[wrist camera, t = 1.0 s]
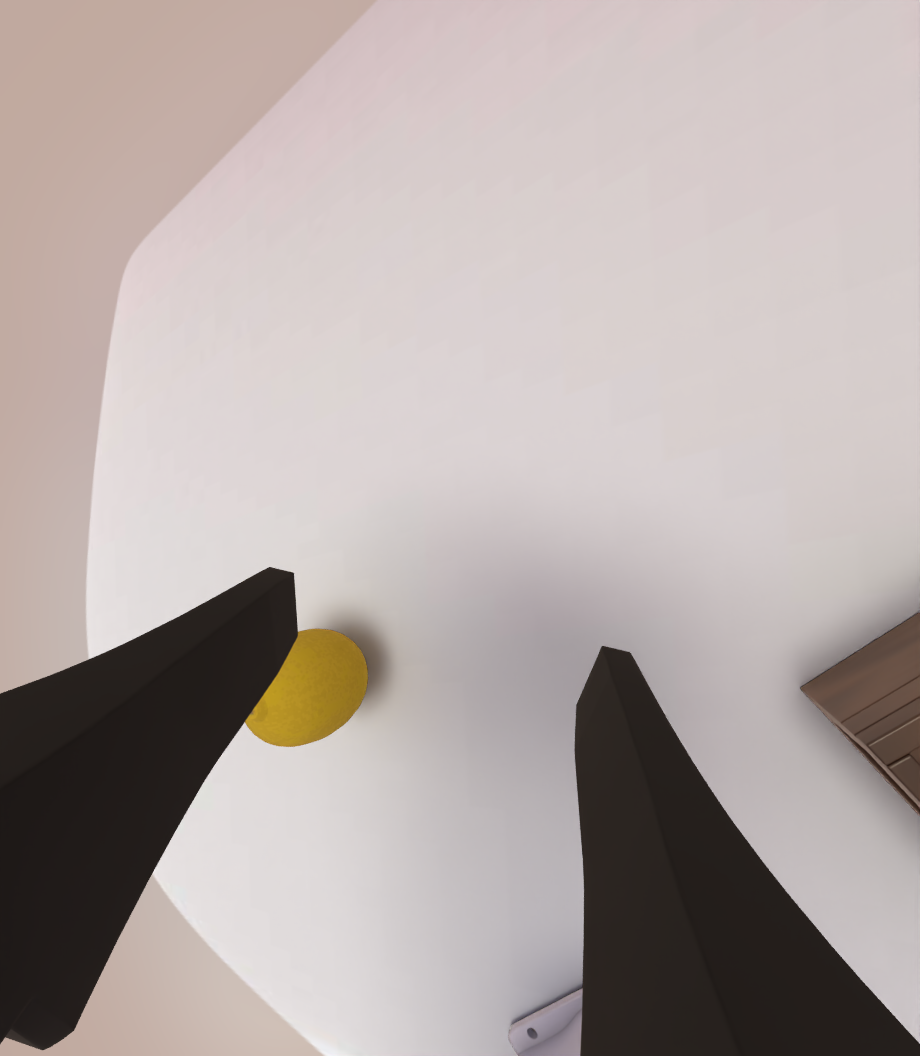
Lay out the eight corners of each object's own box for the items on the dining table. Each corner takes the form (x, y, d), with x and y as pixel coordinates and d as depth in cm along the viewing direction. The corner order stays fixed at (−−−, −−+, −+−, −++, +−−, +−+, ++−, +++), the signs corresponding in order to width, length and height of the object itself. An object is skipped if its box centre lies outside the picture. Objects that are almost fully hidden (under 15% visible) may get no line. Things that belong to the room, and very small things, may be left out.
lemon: (333, 721, 28) (226, 790, 20) (302, 636, 29) (189, 672, 21) (406, 692, 26) (320, 756, 19) (371, 603, 27) (275, 630, 20)
